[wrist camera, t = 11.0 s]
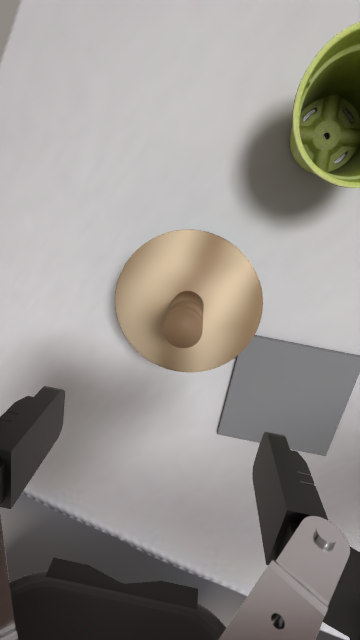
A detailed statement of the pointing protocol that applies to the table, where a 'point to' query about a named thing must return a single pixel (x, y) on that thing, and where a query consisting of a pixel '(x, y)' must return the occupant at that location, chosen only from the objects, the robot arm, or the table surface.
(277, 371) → the mat
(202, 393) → the table surface
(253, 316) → the lid
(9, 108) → the table surface
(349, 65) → the plant pot
